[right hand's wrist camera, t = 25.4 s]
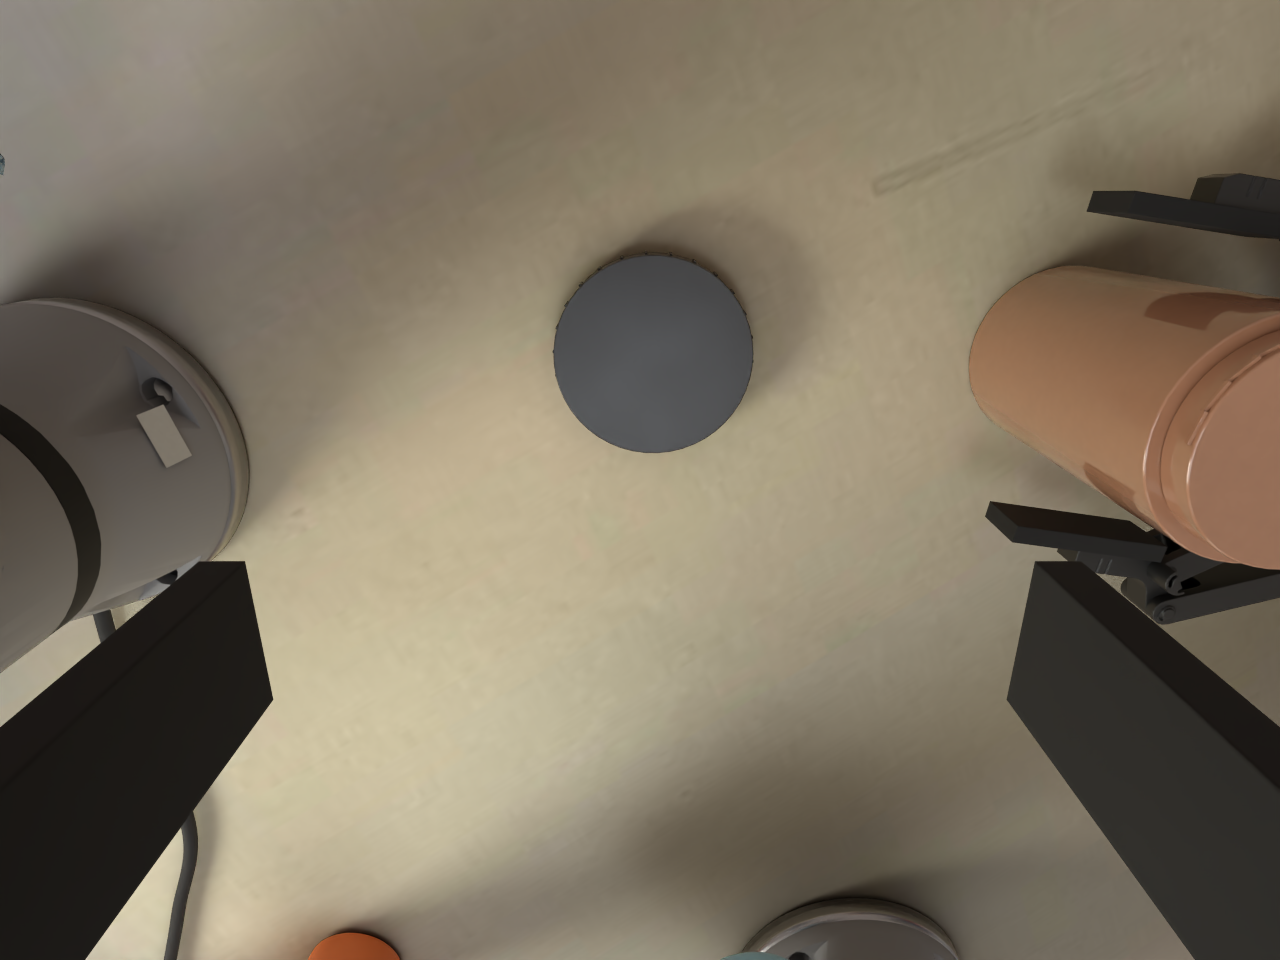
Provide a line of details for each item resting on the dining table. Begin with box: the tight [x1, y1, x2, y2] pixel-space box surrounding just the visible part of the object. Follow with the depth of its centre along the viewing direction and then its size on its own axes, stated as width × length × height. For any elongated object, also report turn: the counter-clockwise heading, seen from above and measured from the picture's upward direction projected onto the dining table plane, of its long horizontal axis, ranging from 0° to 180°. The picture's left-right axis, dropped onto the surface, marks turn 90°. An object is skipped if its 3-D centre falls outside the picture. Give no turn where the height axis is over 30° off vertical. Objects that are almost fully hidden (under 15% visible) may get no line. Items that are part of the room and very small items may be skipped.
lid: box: [553, 251, 753, 453], centre depth 36 cm, size 9×9×2 cm
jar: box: [969, 265, 1280, 569], centre depth 29 cm, size 8×8×15 cm
